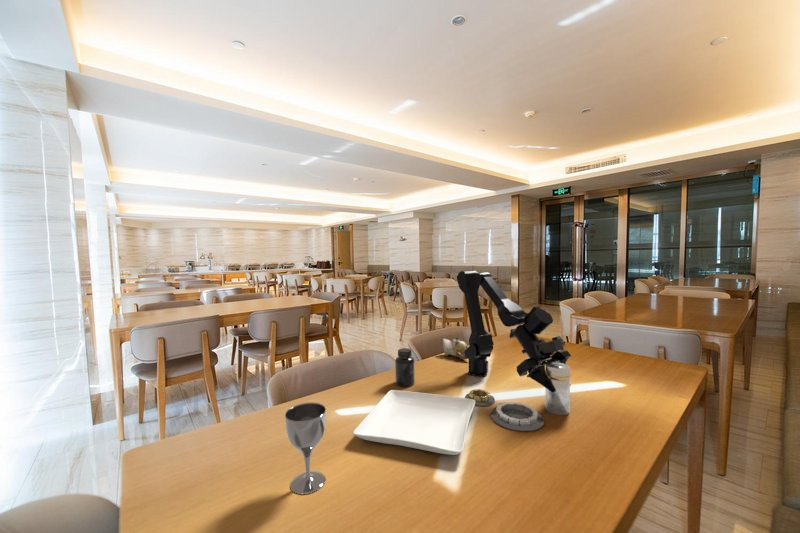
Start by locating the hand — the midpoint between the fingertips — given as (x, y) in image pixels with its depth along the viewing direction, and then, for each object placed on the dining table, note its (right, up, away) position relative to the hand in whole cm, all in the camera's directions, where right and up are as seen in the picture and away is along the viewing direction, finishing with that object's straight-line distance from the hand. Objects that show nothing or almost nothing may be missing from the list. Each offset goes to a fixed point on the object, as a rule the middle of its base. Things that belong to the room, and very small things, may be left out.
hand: (561, 389), depth 96 cm
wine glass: (-66, -9, -27) cm, 71 cm away
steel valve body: (-1, -7, +2) cm, 7 cm away
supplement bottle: (-45, -7, +23) cm, 51 cm away
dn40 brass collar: (-22, -7, +9) cm, 24 cm away
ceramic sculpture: (-21, -5, +51) cm, 55 cm away
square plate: (-41, -8, -6) cm, 43 cm away
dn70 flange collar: (-14, -7, -3) cm, 16 cm away
